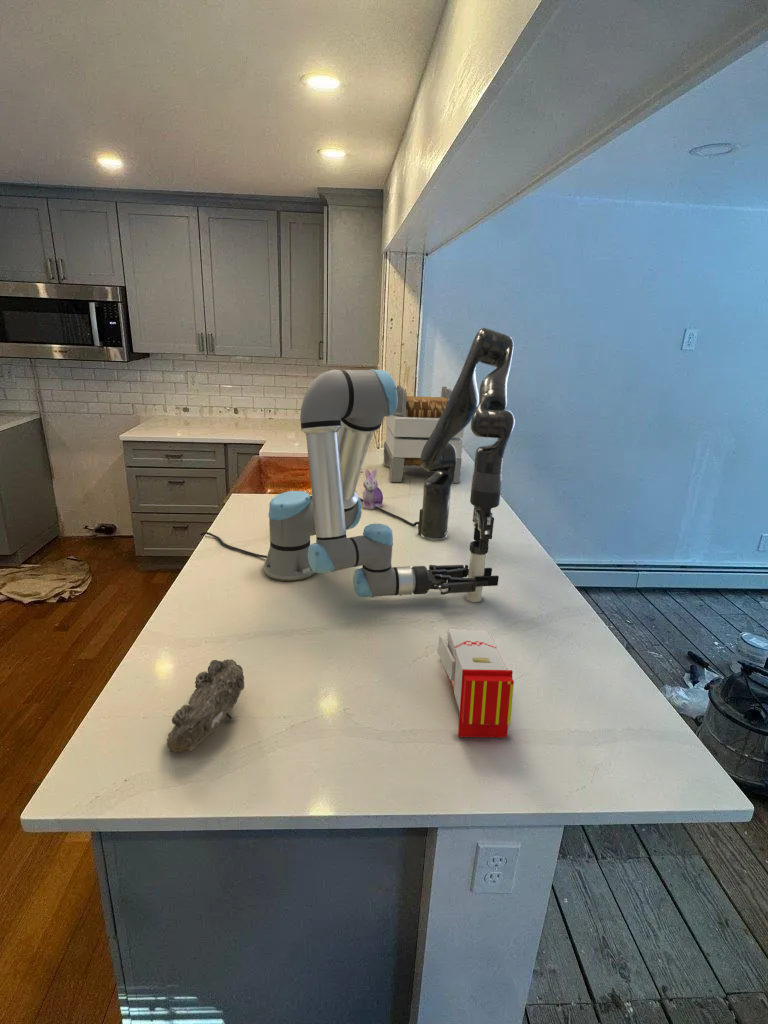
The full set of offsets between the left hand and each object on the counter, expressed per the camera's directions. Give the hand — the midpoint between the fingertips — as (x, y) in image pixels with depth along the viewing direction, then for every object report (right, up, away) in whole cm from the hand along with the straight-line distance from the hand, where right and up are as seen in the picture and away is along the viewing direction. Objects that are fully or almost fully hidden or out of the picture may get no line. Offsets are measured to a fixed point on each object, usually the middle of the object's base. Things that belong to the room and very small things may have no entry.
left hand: (494, 576), depth 156 cm
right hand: (-5, +9, -4) cm, 11 cm away
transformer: (-13, +37, +119) cm, 125 cm away
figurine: (-35, +20, +70) cm, 81 cm away
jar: (-6, -6, +1) cm, 8 cm away
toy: (-12, -20, -38) cm, 44 cm away
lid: (-5, +9, -4) cm, 11 cm away
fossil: (-63, -21, -48) cm, 82 cm away
